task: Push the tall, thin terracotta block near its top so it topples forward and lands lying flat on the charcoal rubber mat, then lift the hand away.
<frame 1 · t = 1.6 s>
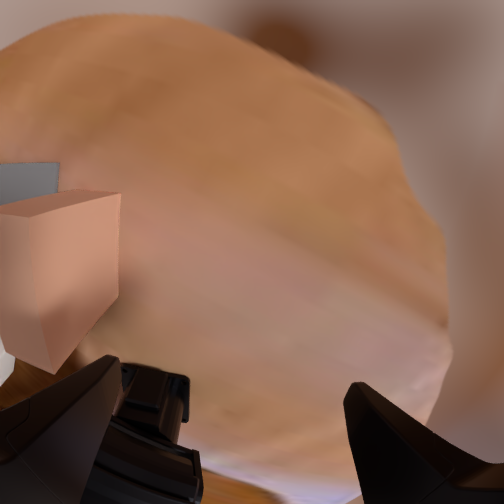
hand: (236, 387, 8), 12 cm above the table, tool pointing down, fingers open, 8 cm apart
terracotta block: (95, 243, 19), on the table
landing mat: (15, 230, 18), on the table
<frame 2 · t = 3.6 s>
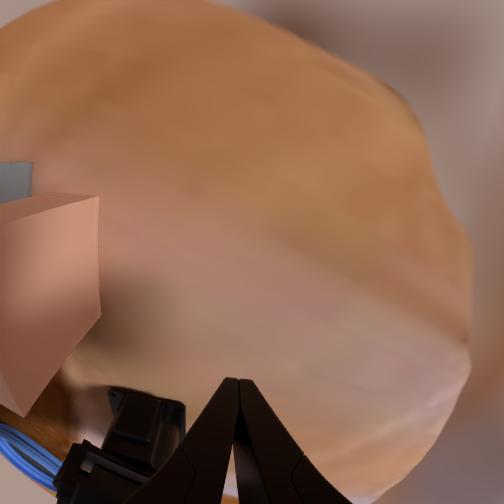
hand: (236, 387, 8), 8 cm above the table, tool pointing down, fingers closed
terracotta block: (73, 255, 15), on the table
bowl: (37, 455, 25), on the table
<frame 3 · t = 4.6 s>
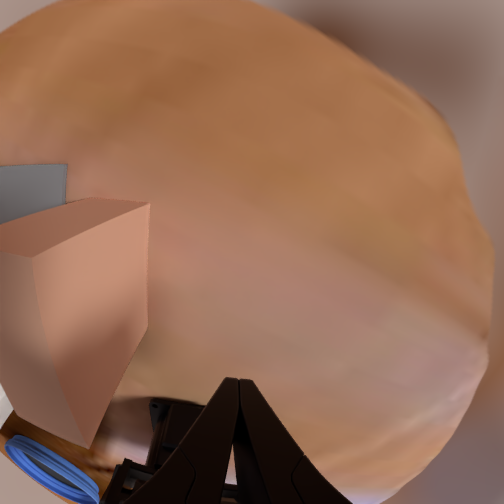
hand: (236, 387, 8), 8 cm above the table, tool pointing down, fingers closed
terracotta block: (117, 265, 16), on the table
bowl: (55, 465, 25), on the table
medicine bottle: (2, 362, 18), on the table
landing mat: (14, 247, 15), on the table
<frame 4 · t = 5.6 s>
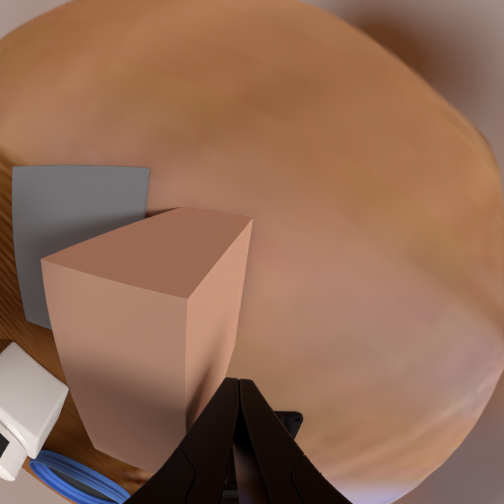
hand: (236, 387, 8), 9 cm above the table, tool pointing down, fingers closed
terracotta block: (208, 281, 16), on the table, tilted 9°, touching gripper
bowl: (84, 478, 26), on the table
medicine bottle: (37, 380, 19), on the table
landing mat: (70, 258, 15), on the table
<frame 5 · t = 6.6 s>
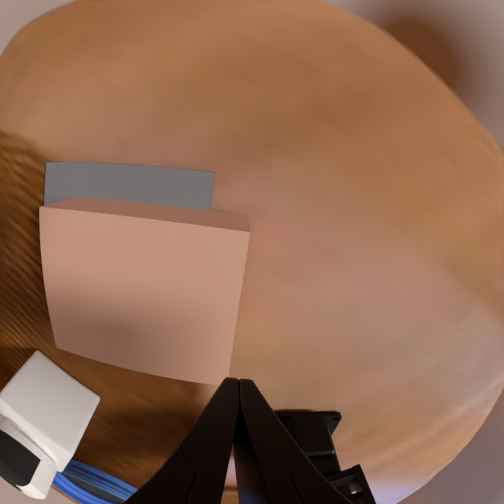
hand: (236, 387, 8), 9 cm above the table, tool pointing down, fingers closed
terracotta block: (236, 301, 14), point 2 cm above the table, tilted 90°, touching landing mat
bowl: (100, 483, 26), on the table
medicine bottle: (62, 389, 19), on the table
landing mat: (115, 264, 16), on the table
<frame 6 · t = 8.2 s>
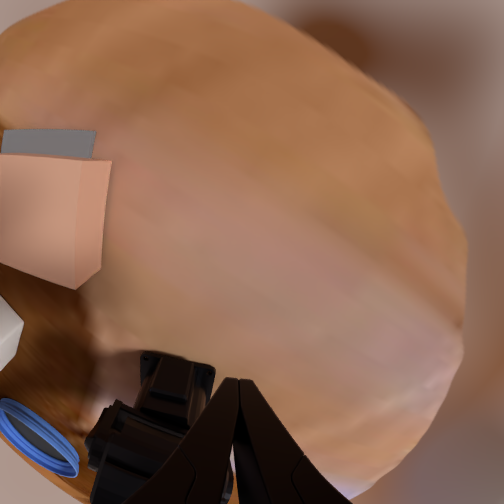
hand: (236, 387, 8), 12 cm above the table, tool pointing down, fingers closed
terracotta block: (91, 222, 16), point 2 cm above the table, tilted 90°, touching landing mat
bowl: (38, 432, 28), on the table
medicine bottle: (1, 317, 21), on the table
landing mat: (35, 201, 17), on the table
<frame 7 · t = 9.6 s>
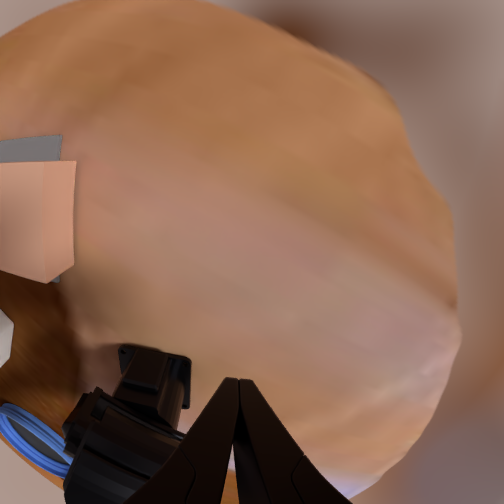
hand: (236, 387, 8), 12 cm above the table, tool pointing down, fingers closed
terracotta block: (58, 219, 16), point 2 cm above the table, tilted 90°, touching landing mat
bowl: (40, 436, 28), on the table
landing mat: (14, 206, 17), on the table
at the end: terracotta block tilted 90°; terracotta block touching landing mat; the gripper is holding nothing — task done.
